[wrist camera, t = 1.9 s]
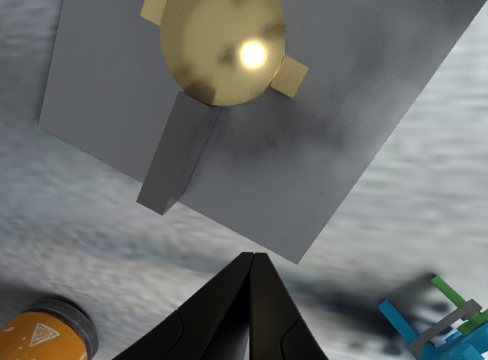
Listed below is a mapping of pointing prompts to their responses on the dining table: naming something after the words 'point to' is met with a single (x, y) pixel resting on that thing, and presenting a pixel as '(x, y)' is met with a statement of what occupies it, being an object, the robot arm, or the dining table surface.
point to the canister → (48, 334)
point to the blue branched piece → (457, 345)
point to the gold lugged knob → (212, 77)
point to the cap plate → (255, 106)
